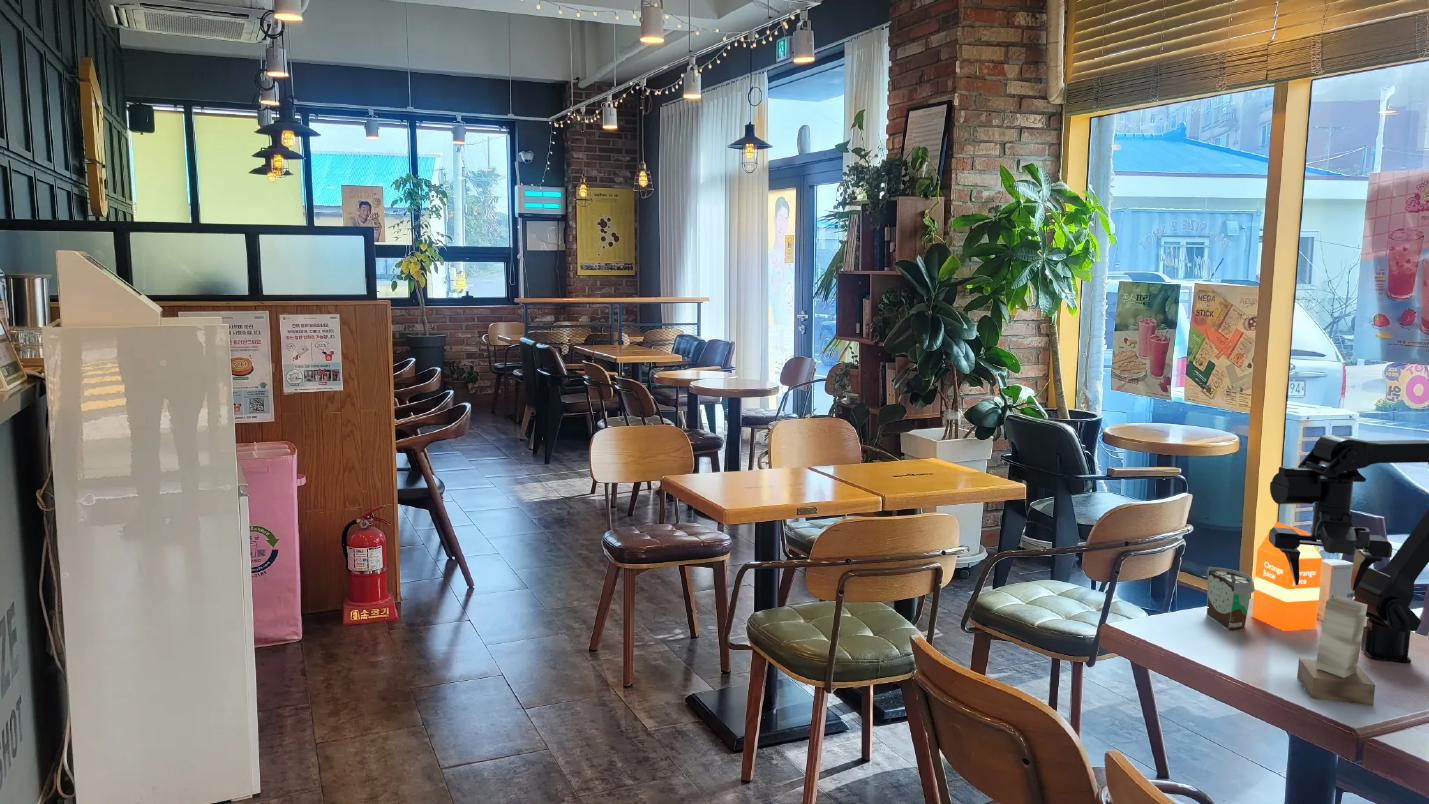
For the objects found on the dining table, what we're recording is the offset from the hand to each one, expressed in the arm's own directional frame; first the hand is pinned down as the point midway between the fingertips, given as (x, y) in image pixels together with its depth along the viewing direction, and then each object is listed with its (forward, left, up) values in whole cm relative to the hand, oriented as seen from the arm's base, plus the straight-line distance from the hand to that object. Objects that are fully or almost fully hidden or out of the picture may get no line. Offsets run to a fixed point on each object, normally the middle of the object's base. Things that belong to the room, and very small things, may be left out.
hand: (1324, 587), depth 185 cm
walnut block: (+2, +18, -13) cm, 23 cm away
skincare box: (-8, -24, -13) cm, 29 cm away
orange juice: (+2, -18, -13) cm, 22 cm away
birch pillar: (+2, +18, -9) cm, 20 cm away
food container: (+12, -14, -13) cm, 23 cm away
